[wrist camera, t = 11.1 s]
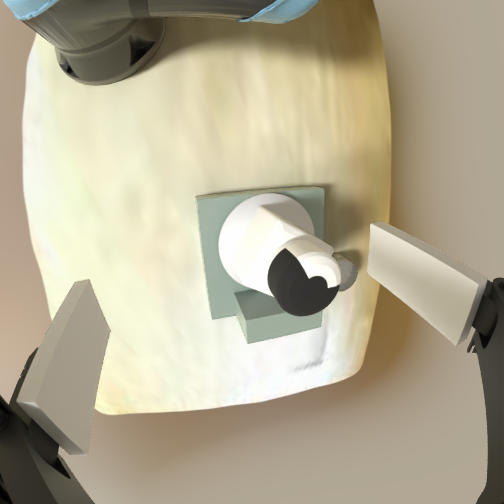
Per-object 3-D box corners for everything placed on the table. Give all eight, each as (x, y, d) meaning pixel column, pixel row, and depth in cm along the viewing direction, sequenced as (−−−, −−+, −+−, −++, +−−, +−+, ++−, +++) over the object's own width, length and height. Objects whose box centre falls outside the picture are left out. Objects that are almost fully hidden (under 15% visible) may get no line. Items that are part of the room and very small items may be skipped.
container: (278, 279, 38) (321, 334, 26) (228, 258, 35) (256, 313, 23) (306, 230, 36) (364, 267, 25) (258, 204, 33) (303, 232, 22)
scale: (195, 196, 35) (201, 210, 26) (314, 185, 39) (353, 197, 30) (210, 312, 41) (220, 354, 32) (312, 293, 45) (342, 325, 36)
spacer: (319, 255, 43) (331, 264, 39) (345, 250, 44) (358, 259, 40) (317, 283, 45) (329, 294, 41) (343, 277, 46) (355, 287, 42)
